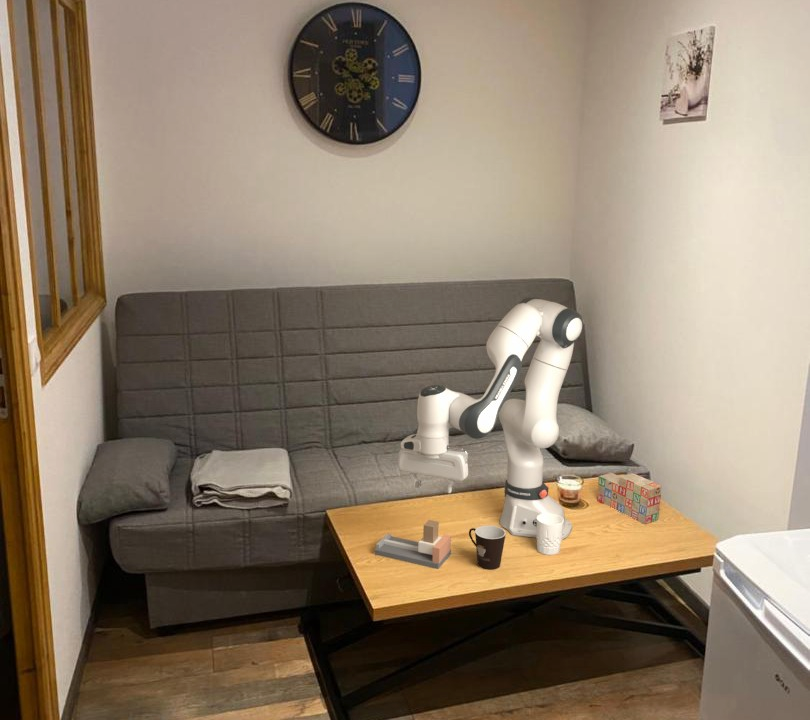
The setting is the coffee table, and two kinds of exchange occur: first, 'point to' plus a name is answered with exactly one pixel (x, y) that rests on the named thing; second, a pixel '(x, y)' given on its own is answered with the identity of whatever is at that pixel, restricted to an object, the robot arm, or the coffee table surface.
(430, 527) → the shuttle
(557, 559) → the coffee table surface
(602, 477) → the stack of blocks
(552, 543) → the white cup
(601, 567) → the coffee table surface
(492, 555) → the coffee mug
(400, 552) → the track
